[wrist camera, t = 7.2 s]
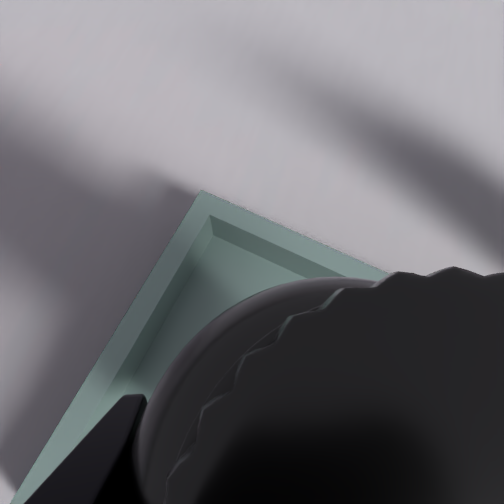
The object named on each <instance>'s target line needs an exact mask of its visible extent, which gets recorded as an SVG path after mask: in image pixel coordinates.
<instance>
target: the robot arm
mask: <svg viewBox="0 0 504 504" xmlns="http://www.w3.org/2000/svg"><path fill="white" fill-rule="evenodd" d="M146 405H147V399H146V396H145V395H144V394H128V395H124V396H122V397H121V398H120V399H119V400H118V401H117V402H116V403H115V404H114V405H113V406H112V408H111V409H110V410H109V411H108V412H107V413H106V414H105V415H104V416H103V417H102V418H101V420H100V421H99V422H98V423H97V424H96V425H95V426H94V427H93V428H92V429H91V430H90V432H89V433H88V434H87V435H86V436H85V437H84V438H83V439H82V440H81V441H80V442H79V444H78V445H77V446H76V447H75V448H74V449H73V450H72V451H71V452H70V453H69V454H68V456H67V457H66V458H65V459H64V460H63V461H62V462H61V463H60V464H59V465H58V466H57V468H56V469H55V470H54V471H53V472H52V473H51V474H50V475H49V476H48V477H47V478H46V480H45V481H44V482H43V483H42V484H41V485H40V486H39V487H38V488H37V489H36V490H35V492H34V493H33V494H32V495H31V496H30V497H29V498H28V499H27V500H26V501H25V502H24V504H121V496H122V489H123V482H124V475H125V471H126V466H127V462H128V457H129V453H130V449H131V446H132V443H133V440H134V436H135V433H136V430H137V427H138V425H139V422H140V420H141V417H142V415H143V412H144V410H145V408H146Z"/></svg>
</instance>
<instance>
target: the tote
mask: <svg viewBox="0 0 504 504" xmlns="http://www.w3.org/2000/svg"><path fill="white" fill-rule="evenodd" d="M387 275H388V273H386V272H384V271H382V270H379V269H377V268H375V267H373V266H370V265H368V264H366V263H364V262H361V261H359V260H357V259H355V258H353V257H350V256H348V255H346V254H344V253H341V252H339V251H337V250H335V249H332V248H330V247H328V246H326V245H323V244H321V243H319V242H317V241H315V240H312V239H310V238H308V237H306V236H303V235H301V234H299V233H297V232H294V231H292V230H290V229H288V228H286V227H283V226H281V225H279V224H277V223H274V222H272V221H270V220H268V219H265V218H263V217H261V216H259V215H256V214H254V213H252V212H250V211H248V210H245V209H243V208H241V207H239V206H236V205H234V204H232V203H230V202H227V201H225V200H223V199H221V198H219V197H216V196H214V195H212V194H210V193H207V192H205V191H203V190H201V191H200V193H199V194H198V196H197V197H196V199H195V201H194V202H193V204H192V206H191V207H190V209H189V211H188V212H187V214H186V216H185V217H184V219H183V220H182V222H181V224H180V225H179V227H178V229H177V230H176V232H175V234H174V235H173V237H172V239H171V240H170V242H169V243H168V245H167V247H166V248H165V250H164V252H163V253H162V255H161V257H160V258H159V260H158V261H157V263H156V265H155V266H154V268H153V270H152V271H151V273H150V275H149V276H148V278H147V280H146V281H145V283H144V284H143V286H142V288H141V289H140V291H139V293H138V294H137V296H136V298H135V299H134V301H133V302H132V304H131V306H130V307H129V309H128V311H127V312H126V314H125V316H124V317H123V319H122V321H121V322H120V324H119V325H118V327H117V329H116V330H115V332H114V334H113V335H112V337H111V339H110V340H109V342H108V344H107V345H106V347H105V348H104V350H103V352H102V353H101V355H100V357H99V358H98V360H97V362H96V363H95V365H94V366H93V368H92V370H91V371H90V373H89V375H88V376H87V378H86V380H85V381H84V383H83V385H82V386H81V388H80V389H79V391H78V393H77V394H76V396H75V398H74V399H73V401H72V403H71V404H70V406H69V407H68V409H67V411H66V412H65V414H64V416H63V417H62V419H61V421H60V422H59V424H58V426H57V427H56V429H55V430H54V432H53V434H52V435H51V437H50V439H49V440H48V442H47V444H46V445H45V447H44V449H43V450H42V452H41V453H40V455H39V457H38V458H37V460H36V462H35V463H34V465H33V467H32V468H31V470H30V471H29V473H28V475H27V476H26V478H25V480H24V481H23V483H22V485H21V486H20V488H19V490H18V491H17V493H16V494H15V496H14V498H13V499H12V501H11V503H10V504H24V502H25V501H26V500H27V499H28V498H29V497H30V496H31V495H32V494H33V493H34V492H35V490H36V489H37V488H38V487H39V486H40V485H41V484H42V483H43V482H44V481H45V480H46V478H47V477H48V476H49V475H50V474H51V473H52V472H53V471H54V470H55V469H56V468H57V466H58V465H59V464H60V463H61V462H62V461H63V460H64V459H65V458H66V457H67V456H68V454H69V453H70V452H71V451H72V450H73V449H74V448H75V447H76V446H77V445H78V444H79V442H80V441H81V440H82V439H83V438H84V437H85V436H86V435H87V434H88V433H89V432H90V430H91V429H92V428H93V427H94V426H95V425H96V424H97V423H98V422H99V421H100V420H101V418H102V417H103V416H104V415H105V414H106V413H107V412H108V411H109V410H110V409H111V408H112V406H113V405H114V404H115V403H116V402H117V401H118V400H119V399H120V398H121V397H122V396H124V395H128V394H144V395H145V396H146V399H147V403H148V401H149V399H150V398H151V396H152V394H153V392H154V390H155V388H156V386H157V384H158V383H159V381H160V379H161V378H162V376H163V375H164V373H165V372H166V370H167V369H168V367H169V366H170V364H171V363H172V362H173V360H174V359H175V358H176V357H177V355H178V354H179V353H180V351H181V350H182V349H183V348H184V347H185V346H186V345H187V343H188V342H189V341H190V340H191V339H192V338H193V337H194V336H195V335H196V334H197V333H198V332H199V331H200V330H201V329H203V328H204V327H205V326H206V325H207V324H208V323H209V322H210V321H212V320H213V319H214V318H216V317H217V316H218V315H220V314H221V313H223V312H224V311H225V310H227V309H228V308H230V307H232V306H233V305H235V304H237V303H238V302H240V301H242V300H243V299H245V298H247V297H250V296H252V295H254V294H256V293H258V292H260V291H263V290H266V289H268V288H271V287H274V286H277V285H280V284H284V283H288V282H292V281H297V280H302V279H309V278H316V277H335V276H337V277H355V278H362V279H369V280H375V281H379V280H381V279H382V278H384V277H385V276H387Z"/></svg>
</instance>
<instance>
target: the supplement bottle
mask: <svg viewBox="0 0 504 504" xmlns="http://www.w3.org/2000/svg"><path fill="white" fill-rule="evenodd" d="M121 504H504V273H496V274H491V275H487V276H482V275H479V274H476V273H474V272H471V271H468V270H465V269H461V268H458V267H454V266H453V267H448V268H444V269H441V270H439V271H436V272H434V273H431V274H429V275H427V276H420V275H417V274H414V273H407V272H394V273H390V274H388V275H387V276H385V277H384V278H382V279H381V280H379V281H375V280H369V279H362V278H355V277H337V276H335V277H316V278H309V279H302V280H297V281H292V282H288V283H284V284H280V285H277V286H274V287H271V288H268V289H266V290H263V291H260V292H258V293H256V294H254V295H252V296H250V297H247V298H245V299H243V300H242V301H240V302H238V303H237V304H235V305H233V306H232V307H230V308H228V309H227V310H225V311H224V312H223V313H221V314H220V315H218V316H217V317H216V318H214V319H213V320H212V321H210V322H209V323H208V324H207V325H206V326H205V327H204V328H203V329H201V330H200V331H199V332H198V333H197V334H196V335H195V336H194V337H193V338H192V339H191V340H190V341H189V342H188V343H187V345H186V346H185V347H184V348H183V349H182V350H181V351H180V353H179V354H178V355H177V357H176V358H175V359H174V360H173V362H172V363H171V364H170V366H169V367H168V369H167V370H166V372H165V373H164V375H163V376H162V378H161V379H160V381H159V383H158V384H157V386H156V388H155V390H154V392H153V394H152V396H151V398H150V399H149V401H148V403H147V405H146V408H145V410H144V412H143V415H142V417H141V420H140V422H139V425H138V427H137V430H136V433H135V436H134V440H133V443H132V446H131V449H130V453H129V457H128V462H127V466H126V471H125V475H124V482H123V489H122V496H121Z"/></svg>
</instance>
